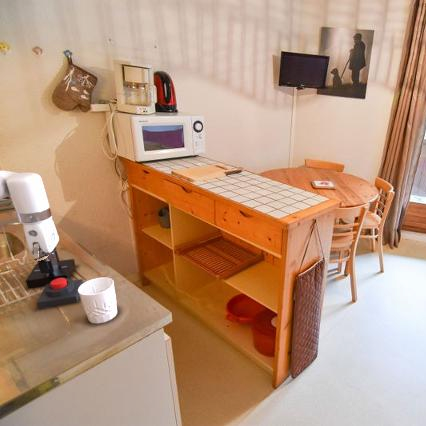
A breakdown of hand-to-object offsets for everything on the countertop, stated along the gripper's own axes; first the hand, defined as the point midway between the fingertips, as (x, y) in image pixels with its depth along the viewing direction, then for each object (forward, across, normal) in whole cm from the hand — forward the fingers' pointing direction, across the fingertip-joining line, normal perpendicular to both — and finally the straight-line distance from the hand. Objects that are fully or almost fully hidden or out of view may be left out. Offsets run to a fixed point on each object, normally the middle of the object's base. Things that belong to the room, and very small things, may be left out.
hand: (50, 266), depth 101 cm
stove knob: (+1, 0, 0) cm, 1 cm away
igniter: (+4, -12, -5) cm, 14 cm away
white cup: (+4, -25, -17) cm, 31 cm away
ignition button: (0, -12, -5) cm, 13 cm away
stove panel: (+4, 0, 0) cm, 4 cm away
